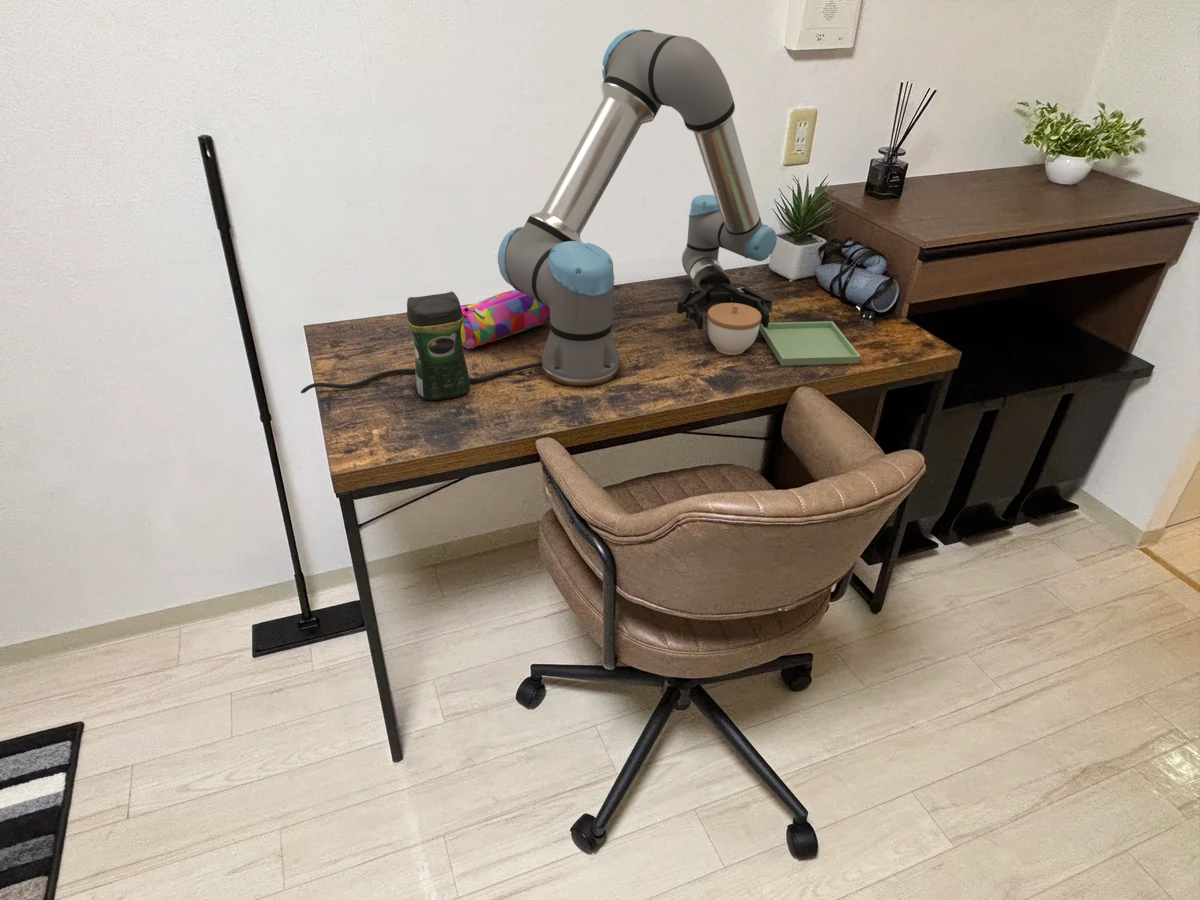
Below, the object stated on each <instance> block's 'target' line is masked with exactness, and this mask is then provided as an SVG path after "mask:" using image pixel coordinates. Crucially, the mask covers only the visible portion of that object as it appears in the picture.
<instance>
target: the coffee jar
mask: <svg viewBox="0 0 1200 900" xmlns="http://www.w3.org/2000/svg"><path fill="white" fill-rule="evenodd" d="M461 306H462V305H461V303H460V300H459V297H458V295H457V294H456V293H455V292H454V291H448V292H443V293H436V294H429V295H423V296H422V295H421V296H412V297H411V296H409V297H408V298H407V301H406V322H407V326H408V328H409V330H410V331H411V333H412V337H413V344H414V345H413V346H414V363H415V365H414V367H415V368H414V369H415V372H414V373H415V384H416V385H415V386H416V390H417V393H418V395H419V396H420V397H421V398H423V399H425V400H428V401H437V400H445V399H449V398H451V399H452V398H455V397H458V396H463V395H465V394H467V393H468V392H469V390H470V389H471V382H470V381H469V378H470V376H469V371H468V366H467V361H466V357H465V351H464V346H463V345H462V340H461V326H462V323H463V314H462V310H461Z"/></svg>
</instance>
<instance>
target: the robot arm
mask: <svg viewBox="0 0 1200 900" xmlns="http://www.w3.org/2000/svg"><path fill="white" fill-rule="evenodd" d="M601 64H602V66H603V69H602V71H601V73H602V78H603V82H602V83H601V86H600V90H601V95H602V100H601V102H600V104H599V106H598V108H597V109H596V112H595V113H594V115H593V117H592V118H591V121H590V123H589V124H588V126H587V128H586V130H585V131H584V133H583V135H582V137H581V138H580V141H579V143H578V144H577V146H576V148H575V149H574V151H573V153H572V155H571V157H570V159H569V160H568V162H567V164H566V166H565V167H564V169H563V171H562V173H561V175H560V177H559V179H558V181H556V183H555V185H554V187H553V190H552V191H551V192H550V195H549V197H548V198H547V200H546V202H545V204H544V206H543V207H542V209H541V211H539V212H536V213H532V214H530V215H529V217H528V218H527V220H526V222H525V224H524V225H523V226H519V227H515V229H511V230H509V232H508V233H506V234H505V236H503V239H502V240H501V242H500V245H499V247H498V251H497V265H498V269H499V273H500V275H501V278H502V279H503V280H504V281H505V282H506V284H508V285H510V286H511V287H512V288H513V290H515V289H516V290H517V291H519V292H521V293H523V294H526V295H528V296H529V297H531V298H533V299H535V300H537V301H538V302H540V303H542V304H544V305H546V306H548V307H549V308H550V320H549V333H548V336H547V339H546V342H545V345H544V348H543V351H542V354H541V358H540V359H541V360H540V361H539V362H535V363H530V364H525V365H521V366H516V367H512V368H508V369H504V370H501V371H498V372H494V373H491V374H487V375H485V376H481V377H471V378H470V377H469V381H470V383H476V382H477V383H478V382H483V381H487V380H491V379H495V378H496V377H500V376H503V375H507V374H511V373H516V372H519V371H524V370H527V369H531V368H537V367H540V368H541V371H542V373H543V375H544V376H545V377H546V378H548V379H549V380H550V381H553V382H555V383H558V384H561V385H565V386H571V387H590V386H591V387H593V386H599V385H601V384H604V383H605V384H606V383H607V382H609V381H611V380H613V379H614V378H615V377H616V376H617V375H618V374H619V372H620V365H621V364H620V363H621V361H620V355H619V351H618V348H617V346H616V345H617V344H616V342H615V339H614V336H613V331H612V330H613V329H612V328H613V327H612V326H613V324H612V323H613V310H614V309H613V307H614V306H613V305H614V289H615V288H614V286H615V273H614V262H613V259H612V257H611V255H610V254H609V253H608V252H607V251H606V250H605V249H604V248H602V247H601V246H598V245H596V244H594V243H591V242H586V243H585V242H583V241H582V239H581V234H582V232H583V230H584V229H585V226H586V225H587V223H588V222H589V219H590V218H591V216H592V214H593V212H594V210H595V209H596V207H597V205H598V203H599V202H600V200H601V198H602V196H603V195H604V192H605V191H606V189H607V187H608V185H609V184H610V182H611V180H612V178H613V177H614V175H615V173H616V172H617V170H618V167H619V166H620V165H621V162H622V160H623V159H624V157H625V155H626V153H627V151H628V149H629V148H630V146H631V145H632V143H633V141H634V139H635V137H636V135H637V134H638V132H639V130H640V128H641V127H642V125H643V124H647V123H650V122H653V121H654V120H655V118H656V116H657V114H658V113H659V111H660V109H661V108H662V106H664V107H670V108H672V109H674V110H675V111H676V112H677V113H678V114H679V115H680V116H681V118H682V120H683V123H684V126H685V128H686V129H687V130H688V131H690V132H692V133H693V135H694V138H695V141H696V144H697V147H698V150H699V154H700V157H701V159H702V162H703V165H704V167H705V168H704V169H705V171H706V173H707V176H708V180H709V183H710V186H711V188H712V192H713V194H701V195H696V196H695V197H693V198H692V200H691V203H690V209H689V214H688V226H687V227H688V229H687V240H686V247H685V248H684V250H683V252H682V255H681V263H682V264H681V265H682V267H683V270H684V272H685V273H686V275H687V277H688V278H689V281H690V282H691V284H692V286H693V287H692V286H691V285H690V284H687V285H685V290H684V292H683V294H682V295H681V296H680V298H679V299H678V300H677V305H676V313H677V314H681V315H682V314H683V313H685V318H686V319H689V320H693V321H694V323H695V326H696V328H697V330H703V325H704V315H703V313H702V311H701V308H703V307H704V306H705V307H707V306H708V305H710V304H717V303H739V304H744V305H748V306H751V307H753V308H755V309H756V310H758V311H759V312H760V314H761V322H760V323H761V324H762V325H763V327H764V328H768V323H770V322H769V321H770V312H771V311H772V308H773V307H772V306H773V299H772V298H770V297H768V296H766V295H764V294H762V293H760V292H758V291H756V290H755V289H752V288H751V287H750V286H749V285H748V284H746V283H741V286H740V287H735V286H734V285H732V283H731V280H730V277H729V276H728V274H727V273H726V271H725V270H724V268H723V266H722V265H721V263H720V262H719V254H720V253H719V252H720V248H721V249H723V250H726V251H729V252H731V253H734V254H736V255H739V256H740V257H744V258H745V259H749V260H753V261H756V262H764V261H765V260H767V259H768V258H769V257H770V256H771V255H772V254H773V252H774V251H775V248H776V245H777V241H778V234H777V232H776V230H774V228H773V227H770V226H769V224H764V223H763V222H762V217H761V216H760V210H759V207H758V203H757V201H756V197H755V192H754V191H753V190H754V189H753V186H752V183H751V179H750V176H749V172H748V168H747V165H746V161H745V158H744V154H743V151H742V147H741V143H740V140H739V136H738V132H737V129H736V126H735V122H734V118H733V115H734V113H735V111H736V104H735V101H734V97H733V94H732V91H731V89H730V85H729V83H728V81H727V79H726V76H725V73H724V72H723V71H722V68H721V66H720V64H719V63H718V62H717V60H716V58H715V57H714V56H713V55H712V53H711V52H710V51H709V50H708V48H706V47H705V46H704V45H703V44H702V43H700V42H699V41H697V40H696V39H694V38H691V37H688V36H683V35H674V34H670V33H669V34H668V33H661V32H656V31H654V30H651V29H645V28H643V29H629V30H625V31H623V32H621V33H620V34H618V35H617V36H615V37H614V38H613V39H612V41H611V42H610V43H609V45H608V46H607V48H606V50H605V52H604V55H603V59H602V63H601ZM400 373H401V374H402V373H416V372H415V368H397V369H390V370H386V371H382V372H379V373H376V374H373V375H371V376H370V377H368V378H365V379H362V380H360V381H357V382H353V383H346V384H345V383H344V384H341V383H340V384H338V383H329V382H315V383H312V384H308V385H307V386H305V387H303V388H302V390H301V391H300V394H305V393H307V392H308V391H309V390H311V389H313V388H320V387H321V388H332V389H352V388H356V387H359V386H363V385H365V384H368V383H370V382H372V381H375V380H377V379H379V378H382V377H385V376H389V375H393V374H400Z"/></svg>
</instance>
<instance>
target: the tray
mask: <svg viewBox="0 0 1200 900" xmlns="http://www.w3.org/2000/svg"><path fill="white" fill-rule="evenodd" d="M759 332H760V334H761V335H762V338H764V340H765V342H766V343H767V345H768V347H769V349H770V350H771V352H772V353H773V355H774V356H775V358H776V360H777V361H778V363H779V365H780V366H781V367H782V366H783V367H785V366H786V367H787V366H814V365H817V366H819V365H850V364H860V363H861V358H862V356H861V354H860V353H859V352H858V351H857V349H856V348H855V347H854V346H853V344H851V342H850V341H849V339H848V338H847V337H846V336H845V334H844V333H843V332H842V331H841V329H840V328H839V327H838V326H837V324H835V322H834V321H790V322H789V321H787V322H785V321H784V322H768V328H764V327H763V325H762V324H761V322H760V326H759Z"/></svg>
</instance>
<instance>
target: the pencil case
mask: <svg viewBox="0 0 1200 900" xmlns="http://www.w3.org/2000/svg"><path fill="white" fill-rule="evenodd" d="M460 306H461V310H462V314H463V323H462V326H461V340H462V346H463V348H465V349H467V350H472V349H475V348H477V347H479V346H483V345H486V344H488V343H493V342H495V341H499V340H502V339H504V338H507V337H511V336H512V335H516V334H519V333H523V332H525V331H529V330H531V329H533V328H536V327H539V326H541V325H542V326H543V325H544V324H546V323H548V322H550V308H549V307H548V306H546V305H544V304H542V303H540V302H538V301H537V300H535V299H533V298H531V297H529V296H528V295H526V294H523V293H521V292H519V291H517V290H516V289H511V290H508V291H504V292H502V293H497V294H496V295H493V296H490V297H488V298H485V299H483V300H481V301H478V302H474V303H472V304H469V305H466V306H465V305H460Z"/></svg>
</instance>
